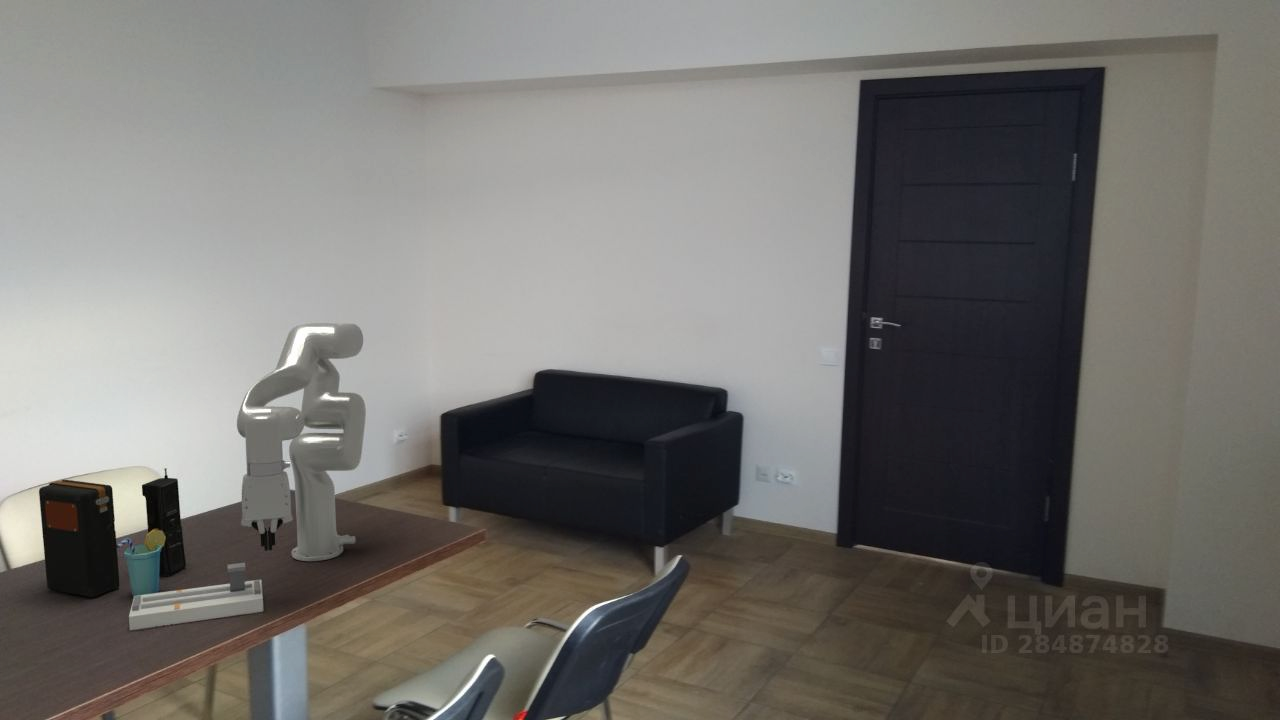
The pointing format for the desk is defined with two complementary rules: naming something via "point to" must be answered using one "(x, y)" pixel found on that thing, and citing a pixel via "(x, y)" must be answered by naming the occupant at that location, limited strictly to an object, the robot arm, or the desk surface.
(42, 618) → the desk surface
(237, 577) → the fader tab
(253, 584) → the slider track base
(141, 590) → the cup
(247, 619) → the desk surface
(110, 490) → the black speaker
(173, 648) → the desk surface
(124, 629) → the desk surface
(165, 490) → the portable radio
